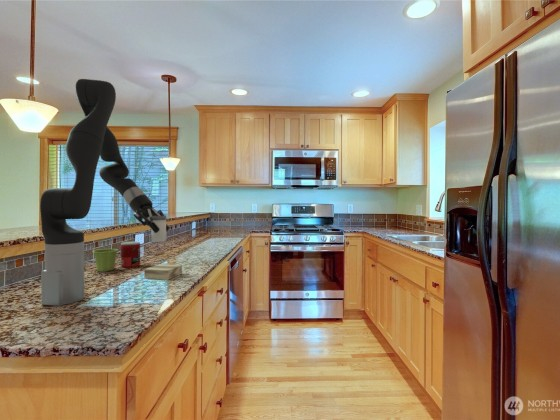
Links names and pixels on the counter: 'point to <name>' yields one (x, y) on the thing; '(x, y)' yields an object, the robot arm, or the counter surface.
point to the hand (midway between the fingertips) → (162, 230)
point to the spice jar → (161, 224)
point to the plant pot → (105, 259)
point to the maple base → (163, 271)
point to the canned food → (130, 254)
